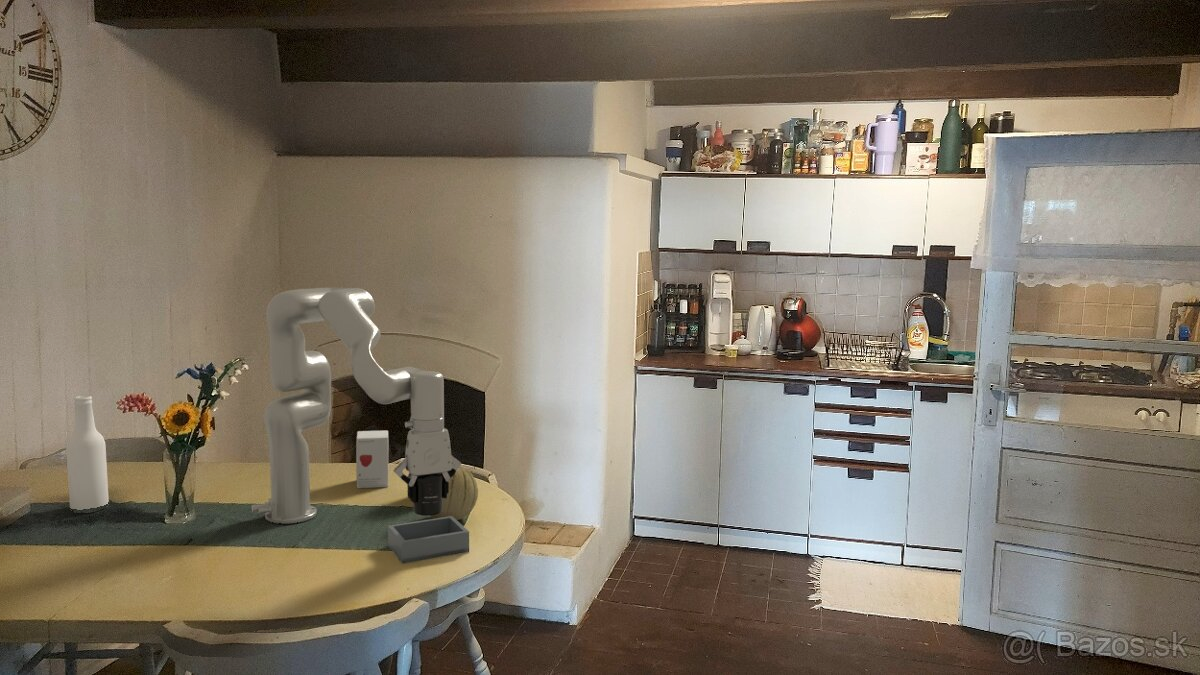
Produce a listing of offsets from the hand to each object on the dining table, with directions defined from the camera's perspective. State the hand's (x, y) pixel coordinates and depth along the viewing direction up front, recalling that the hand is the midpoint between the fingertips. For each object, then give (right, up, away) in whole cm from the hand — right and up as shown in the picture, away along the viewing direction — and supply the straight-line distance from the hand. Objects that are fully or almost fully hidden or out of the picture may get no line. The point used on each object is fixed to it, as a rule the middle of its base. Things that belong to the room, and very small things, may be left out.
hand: (428, 498), depth 204 cm
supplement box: (-26, -5, +51) cm, 57 cm away
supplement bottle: (0, -3, 0) cm, 3 cm away
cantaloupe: (+1, -10, +22) cm, 24 cm away
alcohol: (-94, -7, +24) cm, 97 cm away
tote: (0, -12, +2) cm, 12 cm away
